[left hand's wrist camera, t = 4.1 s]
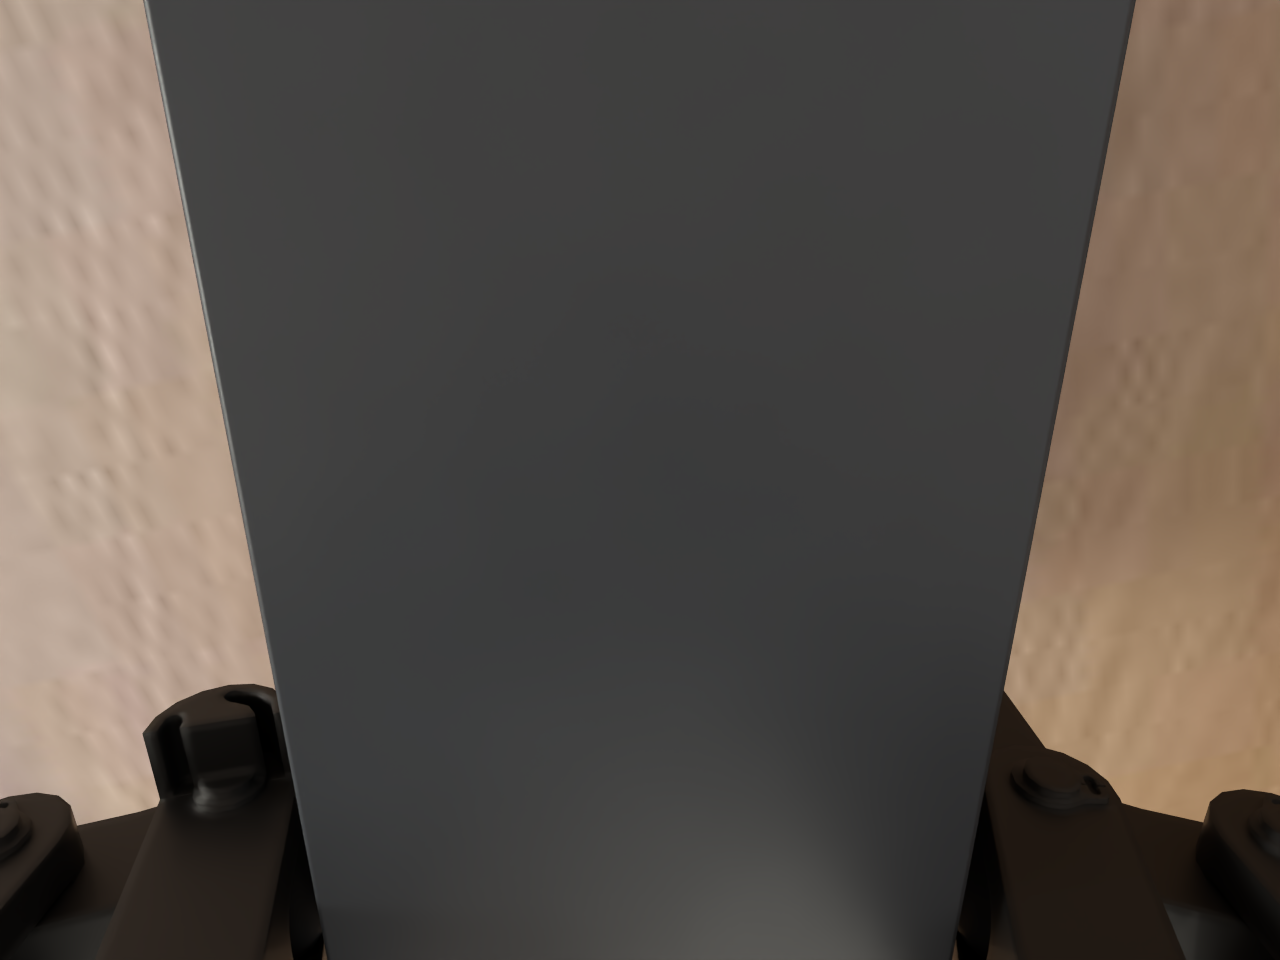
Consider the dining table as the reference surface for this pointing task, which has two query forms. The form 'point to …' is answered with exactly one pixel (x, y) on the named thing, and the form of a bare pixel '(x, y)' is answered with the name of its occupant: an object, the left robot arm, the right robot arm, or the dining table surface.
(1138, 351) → the dining table surface
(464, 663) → the bar
